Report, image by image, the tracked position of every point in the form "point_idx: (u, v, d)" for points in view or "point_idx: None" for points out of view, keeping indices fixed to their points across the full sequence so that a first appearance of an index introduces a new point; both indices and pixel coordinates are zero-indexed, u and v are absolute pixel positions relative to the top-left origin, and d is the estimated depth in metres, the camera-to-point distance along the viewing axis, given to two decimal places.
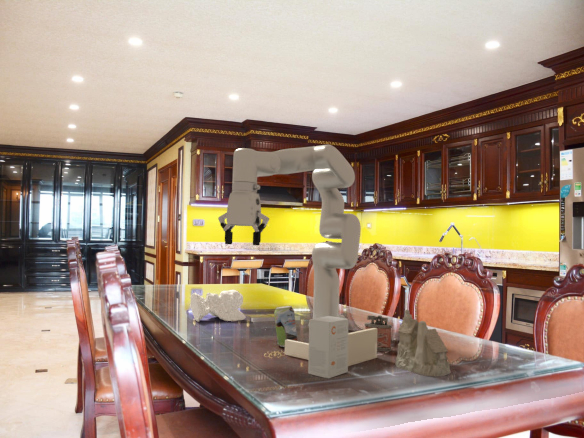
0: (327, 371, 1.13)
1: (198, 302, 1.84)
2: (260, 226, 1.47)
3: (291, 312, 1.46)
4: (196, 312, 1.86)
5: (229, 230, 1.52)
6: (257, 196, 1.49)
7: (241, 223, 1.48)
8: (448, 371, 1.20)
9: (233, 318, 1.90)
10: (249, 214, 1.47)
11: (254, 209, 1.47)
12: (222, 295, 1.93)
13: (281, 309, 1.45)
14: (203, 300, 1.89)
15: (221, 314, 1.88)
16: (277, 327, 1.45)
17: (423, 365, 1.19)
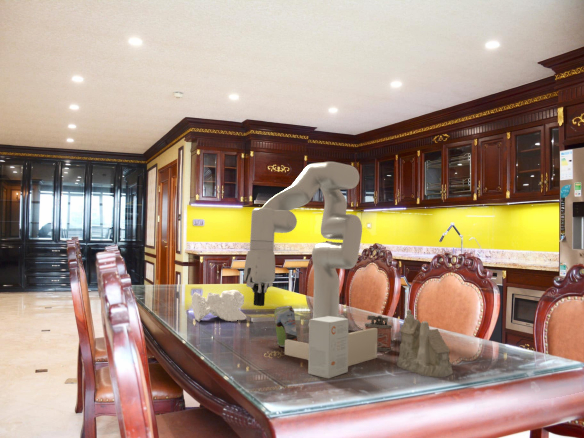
0: (327, 371, 1.13)
1: (199, 302, 1.85)
2: None
3: (291, 312, 1.46)
4: (197, 312, 1.87)
5: None
6: None
7: (266, 281, 1.54)
8: (450, 371, 1.20)
9: (234, 318, 1.90)
10: (272, 272, 1.56)
11: None
12: (223, 295, 1.93)
13: (281, 309, 1.45)
14: (204, 300, 1.90)
15: (222, 314, 1.89)
16: (277, 327, 1.45)
17: (425, 365, 1.19)
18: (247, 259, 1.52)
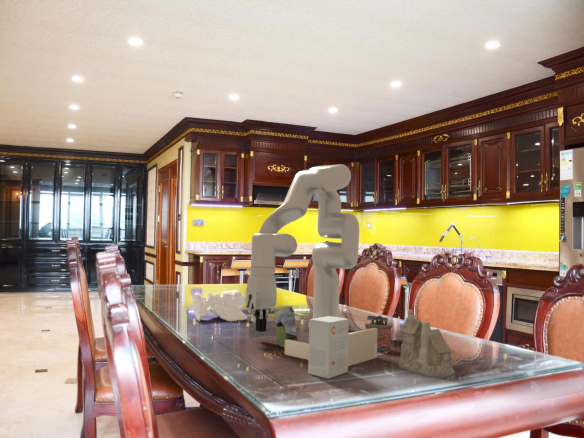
0: (327, 371, 1.13)
1: (199, 302, 1.86)
2: None
3: (291, 312, 1.46)
4: (197, 312, 1.87)
5: None
6: None
7: (267, 307, 1.53)
8: (452, 371, 1.20)
9: (234, 318, 1.90)
10: (274, 297, 1.55)
11: None
12: (224, 295, 1.94)
13: (281, 309, 1.45)
14: (204, 300, 1.90)
15: (222, 314, 1.89)
16: (277, 327, 1.45)
17: (427, 366, 1.19)
18: (248, 285, 1.52)
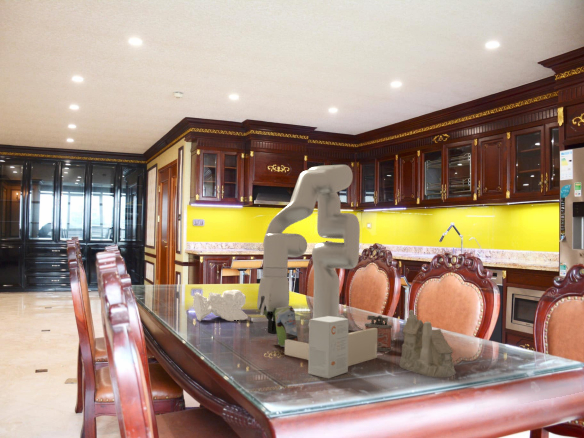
0: (327, 371, 1.13)
1: (200, 302, 1.86)
2: None
3: (291, 312, 1.45)
4: (198, 312, 1.87)
5: None
6: None
7: None
8: (453, 372, 1.20)
9: (235, 317, 1.91)
10: (286, 299, 1.52)
11: None
12: (224, 295, 1.94)
13: (281, 309, 1.45)
14: (205, 300, 1.91)
15: (223, 314, 1.89)
16: (277, 327, 1.45)
17: (428, 366, 1.19)
18: (260, 287, 1.48)
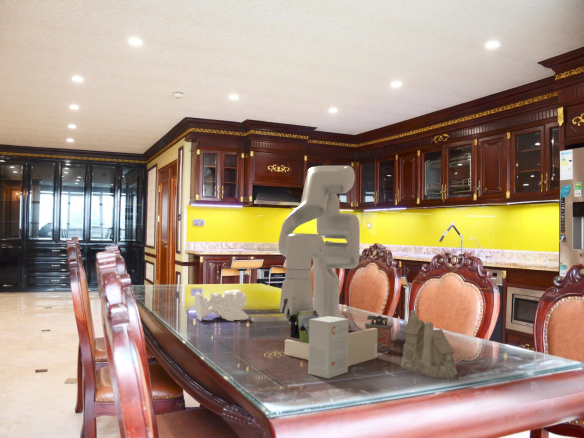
0: (327, 371, 1.13)
1: (200, 302, 1.86)
2: None
3: (315, 316, 1.39)
4: (199, 311, 1.88)
5: None
6: None
7: None
8: (455, 372, 1.20)
9: (236, 317, 1.91)
10: (310, 302, 1.46)
11: None
12: (225, 295, 1.94)
13: (304, 313, 1.39)
14: (206, 300, 1.91)
15: (224, 314, 1.90)
16: (300, 331, 1.39)
17: (430, 366, 1.18)
18: (283, 289, 1.42)
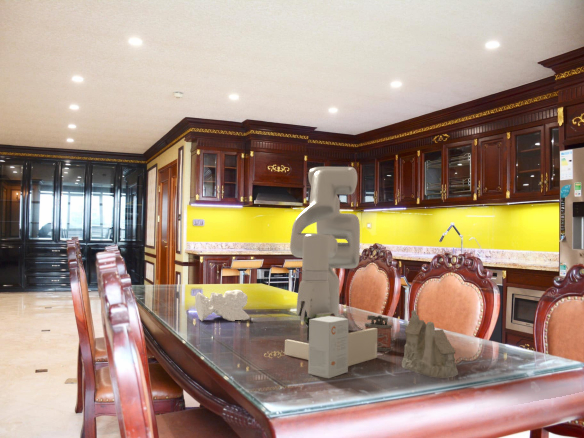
0: (327, 371, 1.13)
1: (201, 302, 1.86)
2: None
3: None
4: (200, 311, 1.88)
5: None
6: None
7: None
8: (456, 372, 1.20)
9: (237, 317, 1.91)
10: (327, 304, 1.42)
11: None
12: (226, 295, 1.94)
13: (321, 315, 1.35)
14: (207, 300, 1.91)
15: (225, 314, 1.90)
16: None
17: (431, 366, 1.18)
18: (300, 291, 1.38)
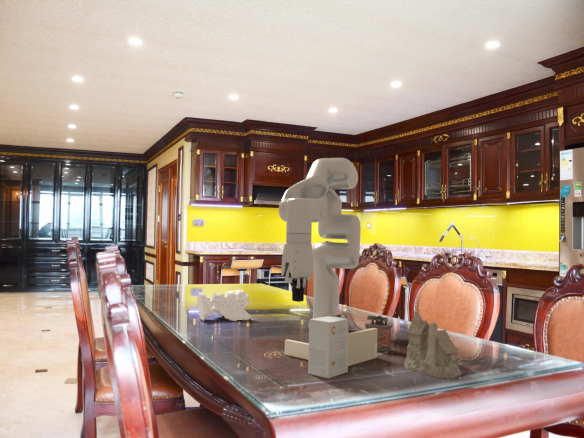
0: (327, 371, 1.13)
1: (203, 301, 1.86)
2: None
3: None
4: (201, 311, 1.88)
5: None
6: None
7: (304, 275, 1.45)
8: (459, 372, 1.19)
9: (238, 317, 1.91)
10: (311, 265, 1.47)
11: None
12: (228, 295, 1.94)
13: None
14: (209, 300, 1.91)
15: (226, 314, 1.90)
16: None
17: (435, 367, 1.18)
18: (284, 253, 1.43)
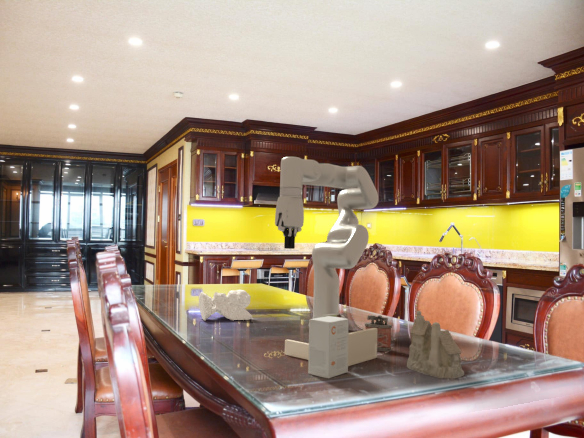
0: (327, 371, 1.13)
1: (204, 301, 1.87)
2: None
3: None
4: (202, 311, 1.89)
5: None
6: None
7: (295, 225, 1.63)
8: (462, 373, 1.19)
9: (239, 317, 1.91)
10: (301, 218, 1.65)
11: None
12: (229, 295, 1.95)
13: None
14: (210, 299, 1.92)
15: (227, 313, 1.90)
16: None
17: (438, 367, 1.18)
18: (278, 204, 1.62)
